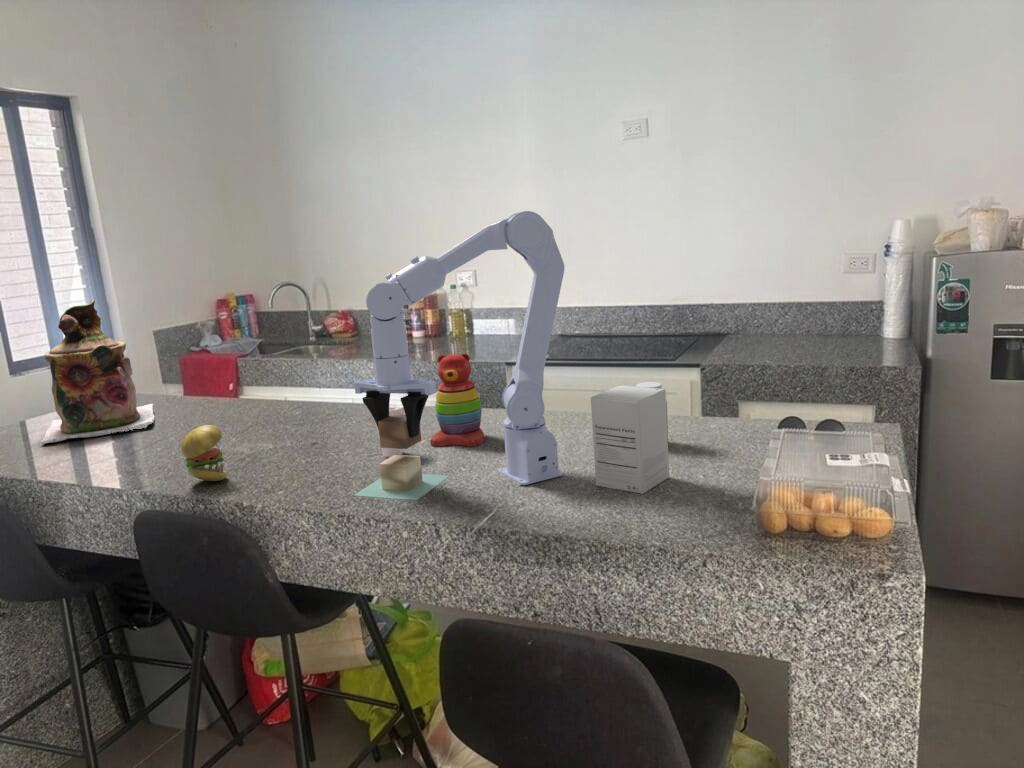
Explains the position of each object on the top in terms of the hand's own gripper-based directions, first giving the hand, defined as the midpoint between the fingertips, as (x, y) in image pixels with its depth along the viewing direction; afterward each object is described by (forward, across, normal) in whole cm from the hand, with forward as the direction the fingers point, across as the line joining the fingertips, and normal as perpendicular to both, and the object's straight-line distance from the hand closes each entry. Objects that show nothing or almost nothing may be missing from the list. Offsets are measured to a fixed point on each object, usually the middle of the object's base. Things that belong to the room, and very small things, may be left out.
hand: (399, 435), depth 127 cm
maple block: (+9, 0, -1) cm, 9 cm away
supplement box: (+9, +37, +9) cm, 39 cm away
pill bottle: (+9, +36, +30) cm, 47 cm away
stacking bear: (+9, -3, +28) cm, 29 cm away
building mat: (+9, 0, -1) cm, 9 cm away
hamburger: (+9, -39, -5) cm, 40 cm away
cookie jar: (+10, -103, +24) cm, 106 cm away
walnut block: (+2, 0, 0) cm, 2 cm away
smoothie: (+9, -12, +15) cm, 21 cm away
